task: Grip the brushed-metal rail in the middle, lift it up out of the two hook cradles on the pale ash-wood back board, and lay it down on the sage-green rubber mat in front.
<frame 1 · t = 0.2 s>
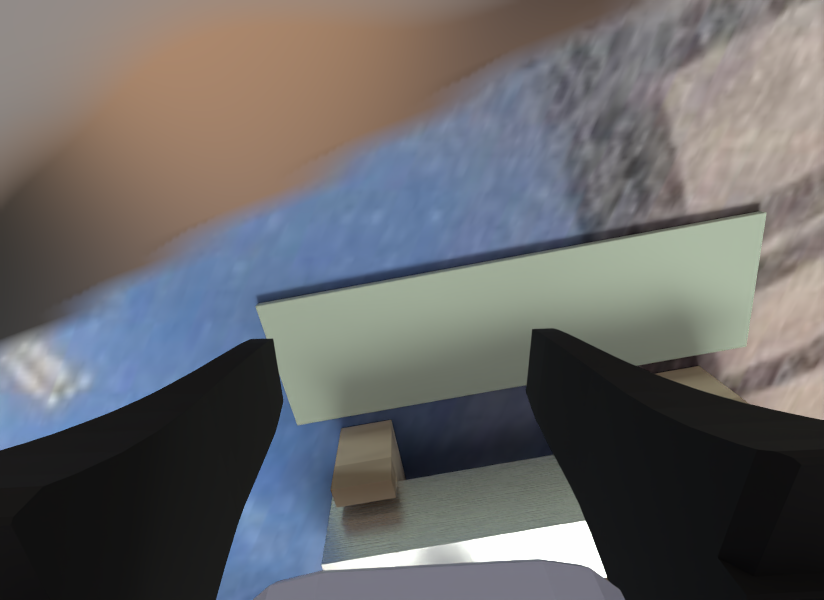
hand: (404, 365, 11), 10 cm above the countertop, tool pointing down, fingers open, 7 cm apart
rail stand: (522, 446, 25), on the countertop
rail: (538, 485, 22), point 3 cm above the countertop, touching rail stand
mat: (511, 324, 22), on the countertop
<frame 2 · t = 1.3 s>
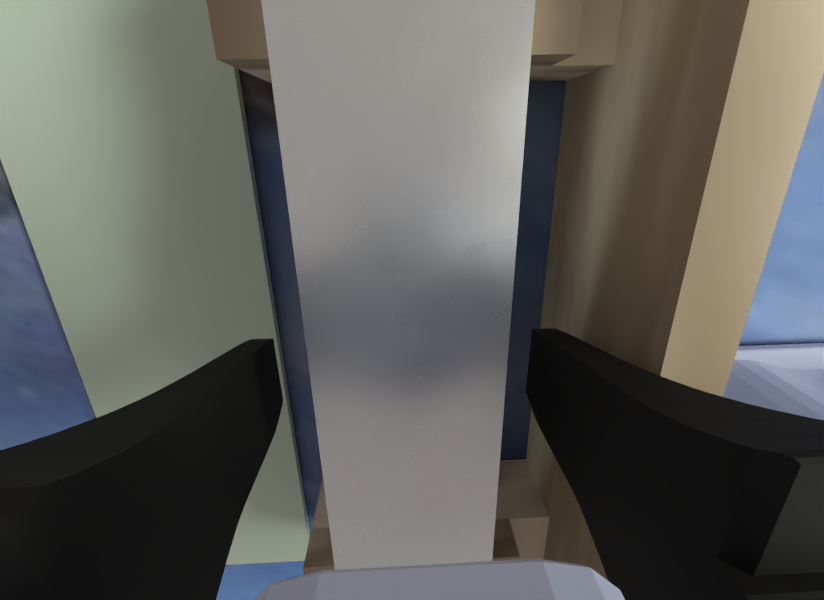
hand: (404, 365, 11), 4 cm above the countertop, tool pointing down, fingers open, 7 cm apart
rail stand: (403, 308, 15), on the countertop
rail: (405, 346, 13), point 3 cm above the countertop, touching rail stand
mat: (173, 315, 15), on the countertop
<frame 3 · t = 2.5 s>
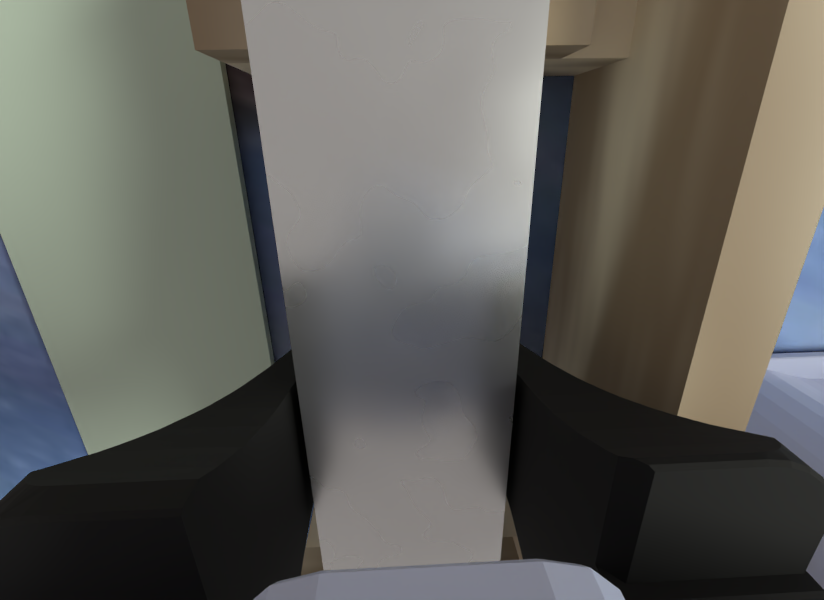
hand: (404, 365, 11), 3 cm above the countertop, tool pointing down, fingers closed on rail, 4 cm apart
rail stand: (402, 315, 15), on the countertop
rail: (404, 358, 12), point 3 cm above the countertop, touching gripper, rail stand
mat: (159, 324, 14), on the countertop
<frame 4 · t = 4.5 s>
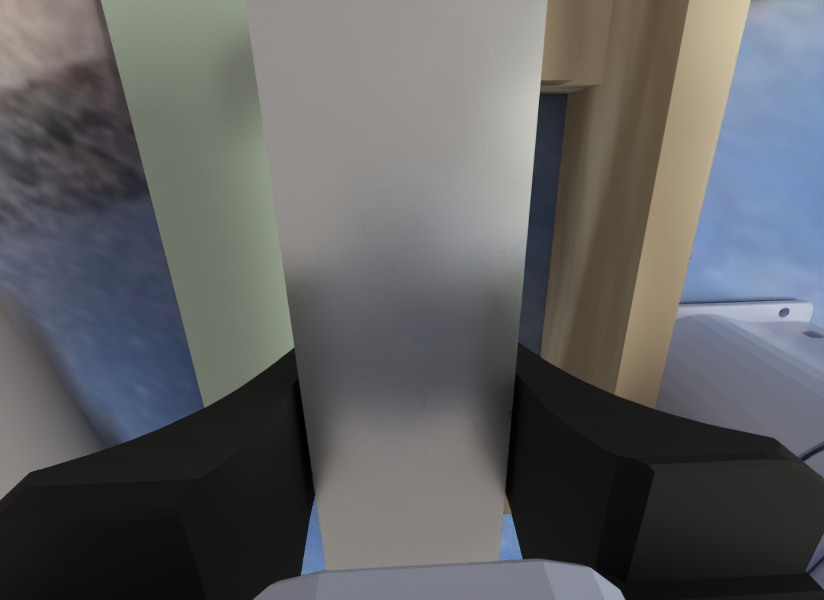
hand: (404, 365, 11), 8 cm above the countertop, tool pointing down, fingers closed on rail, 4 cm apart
rail stand: (439, 272, 19), on the countertop
rail: (404, 356, 12), point 8 cm above the countertop, touching gripper
mat: (258, 278, 19), on the countertop
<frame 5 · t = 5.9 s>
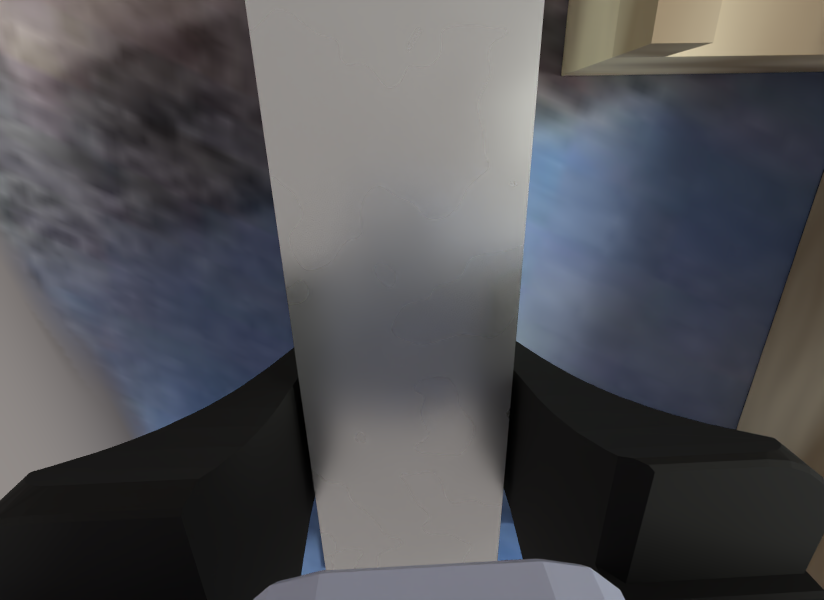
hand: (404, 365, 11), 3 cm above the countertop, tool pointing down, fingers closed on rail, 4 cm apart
rail stand: (638, 308, 15), on the countertop
rail: (404, 355, 12), point 3 cm above the countertop, touching gripper
when the fingers open (3 cm above the countertop, at t = 6.9 s): rail drops 2 cm, resting on mat.
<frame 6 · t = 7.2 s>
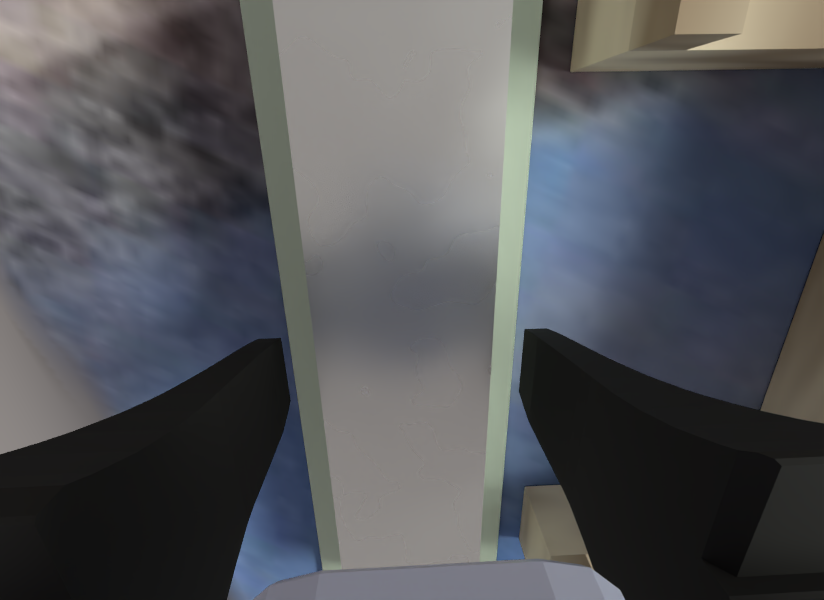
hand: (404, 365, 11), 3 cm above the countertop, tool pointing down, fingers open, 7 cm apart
rail stand: (648, 316, 14), on the countertop
rail: (402, 331, 14), resting on mat
mat: (402, 325, 14), on the countertop
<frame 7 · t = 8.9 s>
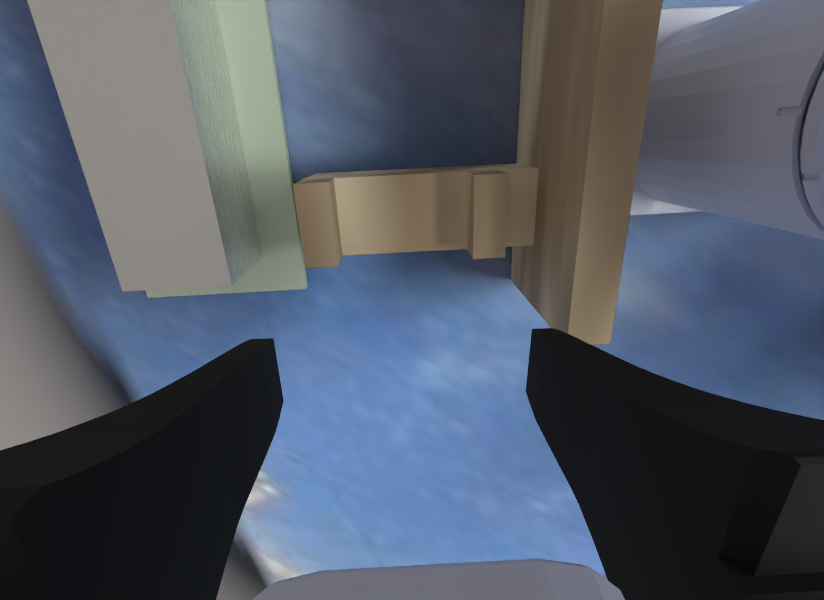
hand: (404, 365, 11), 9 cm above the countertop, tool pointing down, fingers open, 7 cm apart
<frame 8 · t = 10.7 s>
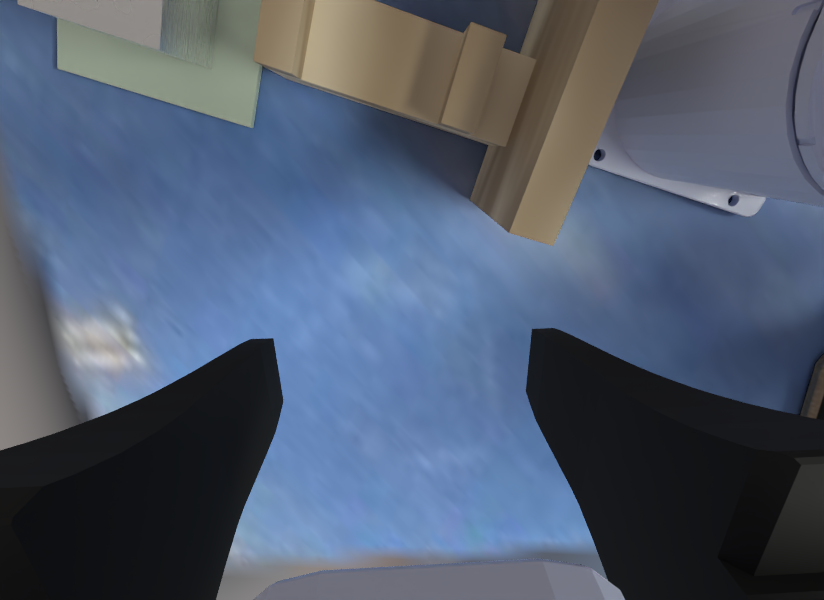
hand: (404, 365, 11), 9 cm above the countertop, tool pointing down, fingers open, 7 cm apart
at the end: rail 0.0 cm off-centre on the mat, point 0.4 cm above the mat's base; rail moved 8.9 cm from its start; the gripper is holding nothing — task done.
